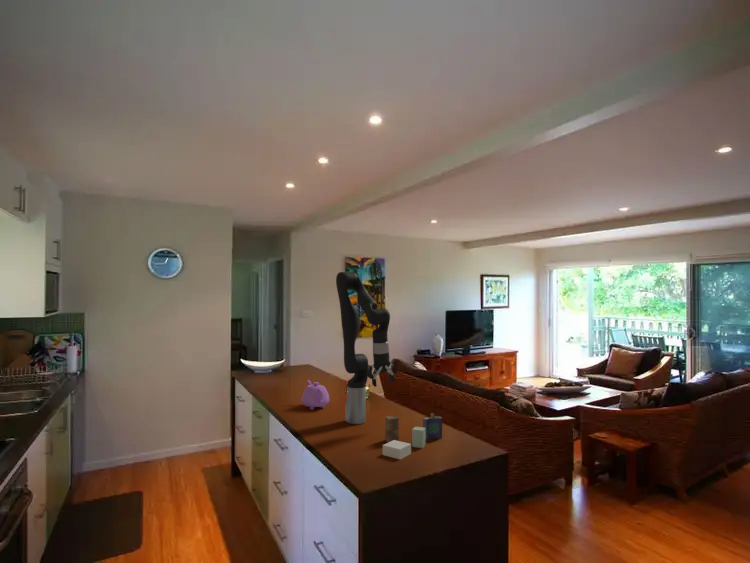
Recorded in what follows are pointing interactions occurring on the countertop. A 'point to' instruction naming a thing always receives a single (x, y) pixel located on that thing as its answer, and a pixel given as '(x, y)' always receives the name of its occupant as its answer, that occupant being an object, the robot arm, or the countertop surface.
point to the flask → (433, 427)
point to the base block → (396, 449)
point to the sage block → (418, 437)
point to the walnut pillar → (392, 428)
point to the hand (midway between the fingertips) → (383, 384)
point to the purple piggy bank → (315, 395)
